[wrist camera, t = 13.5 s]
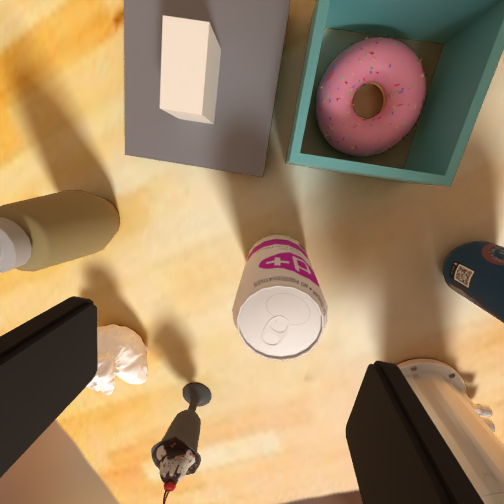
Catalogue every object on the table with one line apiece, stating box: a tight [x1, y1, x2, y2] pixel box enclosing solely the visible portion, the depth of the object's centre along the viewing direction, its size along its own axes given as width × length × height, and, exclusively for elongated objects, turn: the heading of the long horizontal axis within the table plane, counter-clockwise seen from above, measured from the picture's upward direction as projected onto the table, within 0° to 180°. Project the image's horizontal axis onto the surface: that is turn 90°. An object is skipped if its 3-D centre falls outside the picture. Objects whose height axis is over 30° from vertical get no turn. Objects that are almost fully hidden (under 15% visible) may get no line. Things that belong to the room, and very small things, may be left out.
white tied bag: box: [86, 324, 148, 395], centre depth 36 cm, size 12×8×11 cm
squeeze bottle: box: [0, 190, 120, 273], centre depth 26 cm, size 8×8×18 cm
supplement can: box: [232, 234, 327, 361], centre depth 28 cm, size 8×8×15 cm
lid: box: [124, 0, 290, 177], centre depth 26 cm, size 16×16×7 cm
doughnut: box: [315, 35, 427, 157], centre depth 27 cm, size 11×11×4 cm
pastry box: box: [286, 0, 504, 186], centre depth 24 cm, size 15×15×8 cm
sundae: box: [151, 383, 211, 504], centre depth 36 cm, size 7×7×15 cm
